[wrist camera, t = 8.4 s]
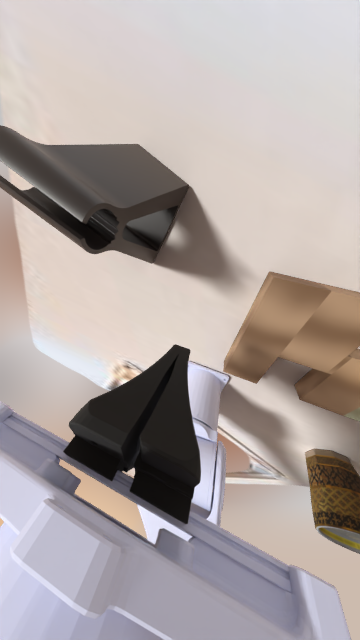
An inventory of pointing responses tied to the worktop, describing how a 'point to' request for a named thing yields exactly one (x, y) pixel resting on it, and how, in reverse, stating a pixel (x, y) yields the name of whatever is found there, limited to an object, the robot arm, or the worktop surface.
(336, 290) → the box
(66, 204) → the phone stand
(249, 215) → the worktop surface
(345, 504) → the ceramic cup
